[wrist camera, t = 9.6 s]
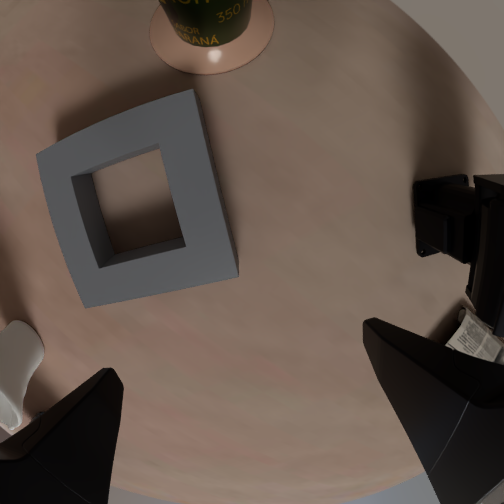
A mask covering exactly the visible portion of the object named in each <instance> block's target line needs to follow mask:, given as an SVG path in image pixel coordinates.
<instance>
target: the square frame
mask: <svg viewBox="0 0 504 504" xmlns="http://www.w3.org/2000/svg"><path fill="white" fill-rule="evenodd" d="M159 148H160V151H161V155H162V159H163V163H164V167H165V171H166V175H167V179H168V183H169V187H170V191H171V194H172V198H173V202H174V206H175V209H176V213H177V216H178V220H179V224H180V227H181V231H182V234H183V237H180V238H176V239H172V240H169V241H165V242H161V243H157V244H153V245H149V246H145V247H141V248H138V249H134V250H130V251H126V252H122V253H119V254H114V251H113V248H112V245H111V242H110V239H109V236H108V233H107V230H106V226H105V223H104V220H103V217H102V213H101V210H100V206H99V203H98V199H97V196H96V192H95V188H94V184H93V180H92V176H91V173H93V172H95V171H98V170H100V169H103V168H105V167H108V166H110V165H113V164H116V163H118V162H121V161H124V160H126V159H129V158H132V157H135V156H138V155H141V154H144V153H147V152H150V151H153V150H156V149H159ZM36 158H37V163H38V168H39V173H40V177H41V182H42V186H43V190H44V194H45V198H46V202H47V206H48V209H49V213H50V216H51V220H52V223H53V226H54V229H55V233H56V236H57V239H58V242H59V245H60V248H61V250H62V253H63V256H64V259H65V261H66V264H67V267H68V269H69V272H70V274H71V277H72V279H73V282H74V284H75V287H76V289H77V291H78V294H79V296H80V298H81V300H82V303H83V305H84V307H85V308H90V307H95V306H100V305H106V304H111V303H116V302H121V301H126V300H131V299H136V298H141V297H146V296H151V295H156V294H161V293H166V292H171V291H176V290H180V289H185V288H190V287H195V286H199V285H204V284H209V283H213V282H218V281H222V280H227V279H232V278H236V277H239V260H238V256H237V252H236V248H235V244H234V240H233V236H232V232H231V228H230V224H229V220H228V216H227V212H226V208H225V204H224V200H223V196H222V192H221V188H220V184H219V180H218V176H217V171H216V167H215V163H214V159H213V155H212V151H211V146H210V142H209V138H208V134H207V129H206V125H205V121H204V116H203V112H202V108H201V104H200V99H199V97H198V96H197V94H196V93H195V91H194V90H193V89H190V90H186V91H183V92H180V93H176V94H173V95H170V96H167V97H163V98H160V99H157V100H154V101H151V102H148V103H146V104H143V105H140V106H137V107H135V108H132V109H129V110H127V111H124V112H122V113H119V114H117V115H114V116H112V117H109V118H107V119H105V120H102V121H100V122H98V123H96V124H93V125H91V126H89V127H87V128H85V129H83V130H81V131H79V132H77V133H74V134H72V135H70V136H69V137H67V138H65V139H63V140H61V141H59V142H57V143H55V144H53V145H51V146H50V147H48V148H46V149H44V150H43V151H41V152H39V153H37V154H36Z"/></svg>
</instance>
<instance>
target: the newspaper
mask: <svg viewBox="0 0 504 504" xmlns="http://www.w3.org/2000/svg"><path fill="white" fill-rule="evenodd" d="M462 306H463V305H462ZM463 307H464V308H465V309H466V310H465V309H462V310H460V312H459V316H458V319H457V320H458V321H459V322H460V323H461V326H460V327H459V328H458V330H457V331H456V332H455V334H454V335H453V336H452V338H451V339H450V340H449V341H448V343H447V344H446V345H445V346H447V347H450V348H452V349H455V350H458V351H460V352H463V353H466V354H468V355H471V356H474V357H477V358H480V359H484V360H487V361H491V362H494V363H498V364H502V365H504V344H503V343H502V342H501V341H500V340H499V339H498V338H497V337H496V336H494V335H493V334H492V332H491V331H490V330H489V329H488V328H487V327H486V326H485V325H484V324H483V323H482V322H481V321H480V320H479V319H478V318H477V317H476V316H475V315H474V314H473V313H472V312H471V311H470V310H469V309H468V308H466V307H465V306H463Z"/></svg>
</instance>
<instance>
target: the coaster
mask: <svg viewBox="0 0 504 504" xmlns="http://www.w3.org/2000/svg"><path fill="white" fill-rule="evenodd" d="M273 29H274V15H273V11H272V9H271V7H270V5H269V3H268V2H267V0H252V9H251V17H250V21H249V24H248V27H247V29H246V30H245V31H244V32H243V33H242V34H241V35H240V36H239V37H238V38H236V39H235V40H233V41H231V42H230V43H227V44H224V45H221V46H218V47H199V46H193V45H191V44H189V43H186V42H184V41H183V40H182V39H181V38H180V37H179V36H178V35H177V34H176V33H175V31H174V29H173V27H172V25H171V23H170V21H169V19H168V17H167V15H166V13H165V11H164V10H163V8H162V6H161V4H160V6H159V7H158V8H157V10H156V12H155V13H154V15H153V18H152V20H151V24H150V32H149V33H150V40H151V44H152V46H153V48H154V50H155V52H156V53H157V55H158V56H159V57H160V58H161V59H162V60H163V61H164V62H165V63H167V64H168V65H169V66H171V67H173V68H175V69H177V70H179V71H182V72H186V73H190V74H196V75H214V74H221V73H225V72H229V71H232V70H235V69H238V68H240V67H242V66H244V65H246V64H248V63H249V62H251V61H252V60H254V59H255V58H256V57H257V56H258V55H259V54H260V53H261V52H262V51H263V50H264V49H265V47H266V46H267V45H268V43H269V41H270V39H271V36H272V33H273Z"/></svg>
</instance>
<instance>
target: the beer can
mask: <svg viewBox="0 0 504 504" xmlns="http://www.w3.org/2000/svg"><path fill="white" fill-rule="evenodd" d="M159 2H160V4H161V6H162V8H163V10H164V11H165V13H166V15H167V17H168V19H169V21H170V23H171V25H172V27H173V29H174V31H175V33H176V34H177V35H178V36H179V37H180V38H181V39H182V40H183V41H184V42H186V43H189V44H191V45H193V46H199V47H218V46H221V45H224V44H227V43H230V42H231V41H233V40H235V39H236V38H238V37H239V36H240V35H241V34H242V33H243V32H244V31H245V30H246V29H247V27H248V24H249V21H250V17H251V9H252V0H159Z"/></svg>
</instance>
